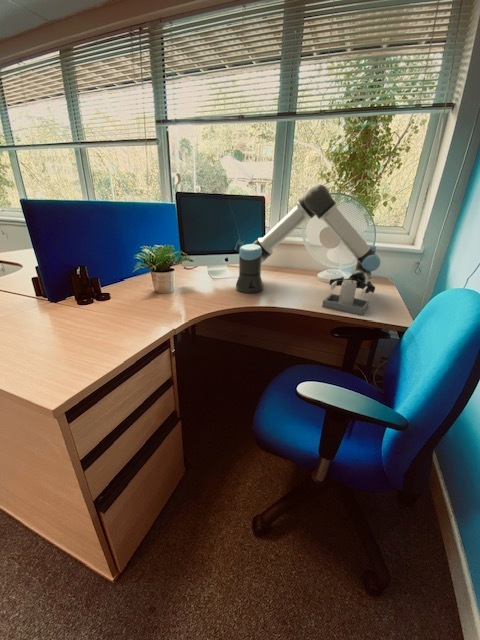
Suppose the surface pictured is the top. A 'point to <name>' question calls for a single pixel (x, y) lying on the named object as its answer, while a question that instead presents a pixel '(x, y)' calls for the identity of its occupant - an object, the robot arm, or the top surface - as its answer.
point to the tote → (357, 308)
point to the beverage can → (347, 292)
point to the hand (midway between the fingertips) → (346, 290)
